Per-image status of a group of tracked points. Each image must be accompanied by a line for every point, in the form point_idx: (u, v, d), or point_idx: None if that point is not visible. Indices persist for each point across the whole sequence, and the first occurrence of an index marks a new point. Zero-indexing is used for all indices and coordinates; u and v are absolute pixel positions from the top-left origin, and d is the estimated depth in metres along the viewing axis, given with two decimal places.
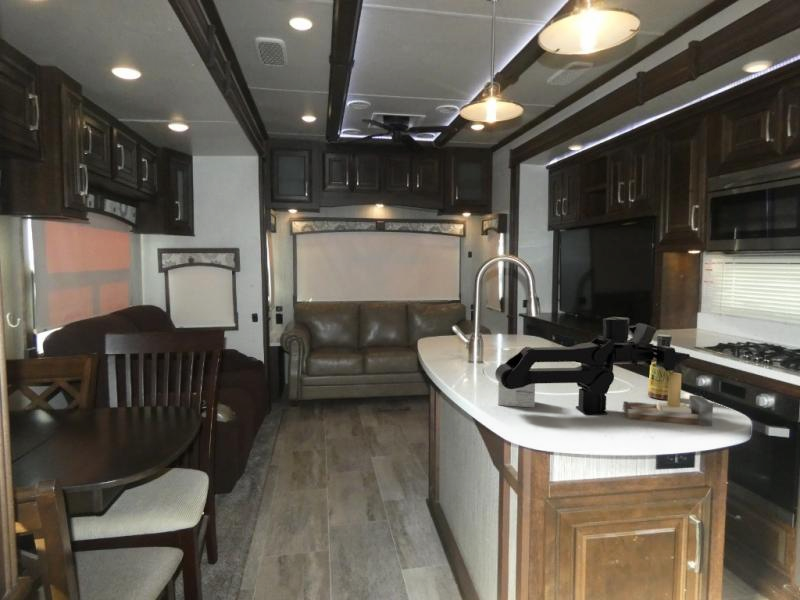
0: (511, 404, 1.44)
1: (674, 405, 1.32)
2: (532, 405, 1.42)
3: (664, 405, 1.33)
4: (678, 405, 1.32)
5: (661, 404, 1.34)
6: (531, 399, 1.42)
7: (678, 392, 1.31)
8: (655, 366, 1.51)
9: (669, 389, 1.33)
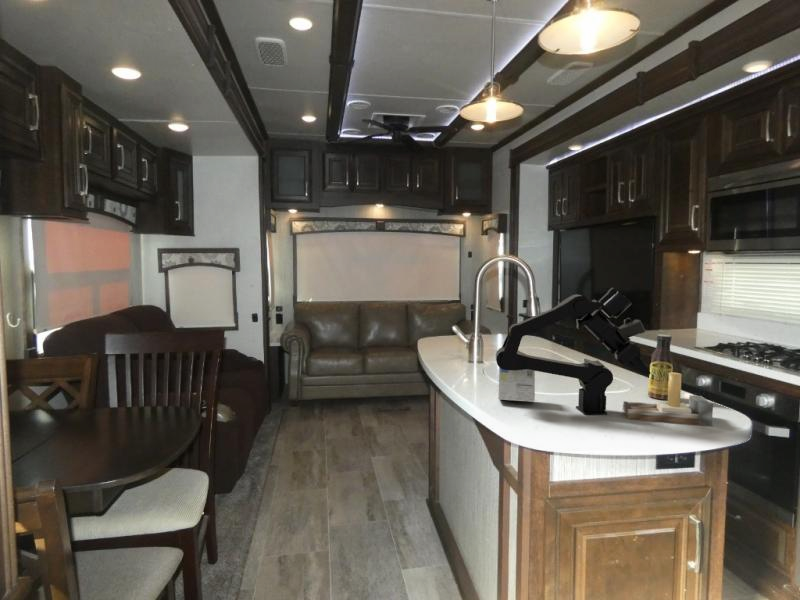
0: (511, 398, 1.44)
1: (674, 405, 1.32)
2: (532, 399, 1.43)
3: (664, 405, 1.33)
4: (678, 405, 1.32)
5: (661, 404, 1.34)
6: (531, 392, 1.43)
7: (678, 392, 1.31)
8: (655, 366, 1.51)
9: (669, 389, 1.33)
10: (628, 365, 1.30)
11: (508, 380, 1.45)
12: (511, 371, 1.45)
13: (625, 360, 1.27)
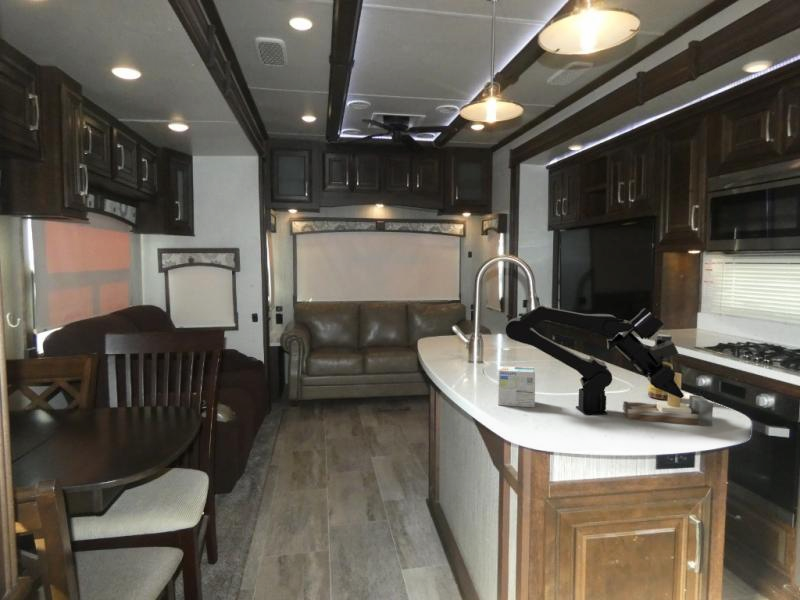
0: (511, 404, 1.44)
1: (674, 405, 1.32)
2: (532, 405, 1.42)
3: (664, 405, 1.33)
4: (678, 405, 1.32)
5: (661, 404, 1.34)
6: (531, 399, 1.42)
7: None
8: None
9: None
10: (661, 388, 1.28)
11: (508, 387, 1.43)
12: (511, 378, 1.43)
13: (659, 383, 1.25)
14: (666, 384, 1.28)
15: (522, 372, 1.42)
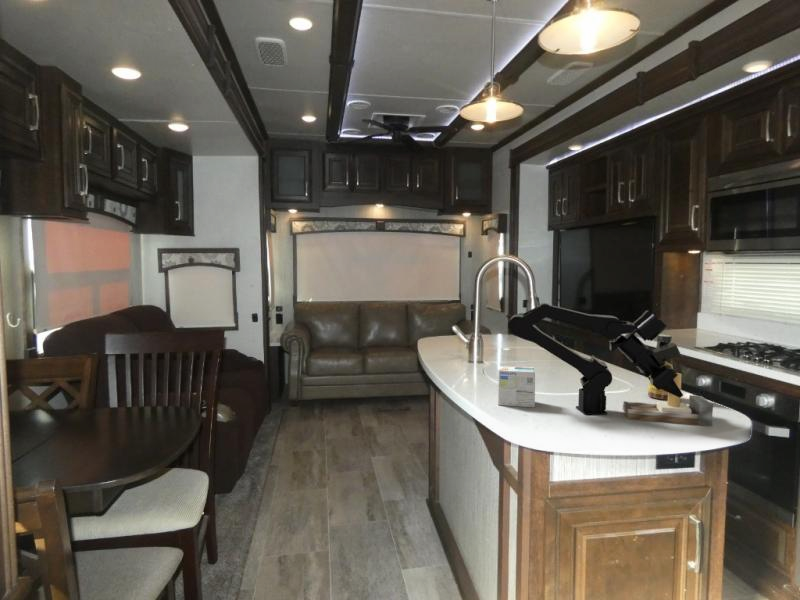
0: (511, 404, 1.44)
1: (674, 405, 1.32)
2: (532, 405, 1.42)
3: (664, 405, 1.33)
4: (678, 405, 1.32)
5: (661, 404, 1.34)
6: (531, 399, 1.42)
7: None
8: None
9: None
10: None
11: (508, 387, 1.43)
12: (511, 378, 1.43)
13: (661, 385, 1.25)
14: (666, 383, 1.31)
15: (522, 372, 1.42)
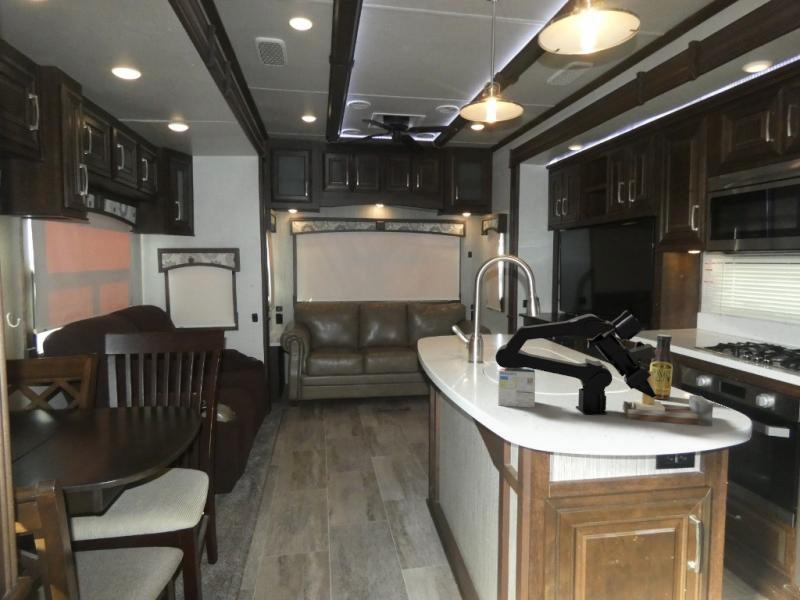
0: (511, 404, 1.44)
1: (648, 403, 1.34)
2: (532, 405, 1.42)
3: (639, 403, 1.35)
4: (652, 403, 1.34)
5: (636, 402, 1.36)
6: (531, 399, 1.42)
7: None
8: (655, 366, 1.51)
9: None
10: (634, 387, 1.32)
11: (508, 387, 1.43)
12: (511, 378, 1.43)
13: (634, 384, 1.27)
14: (639, 383, 1.32)
15: (522, 372, 1.42)
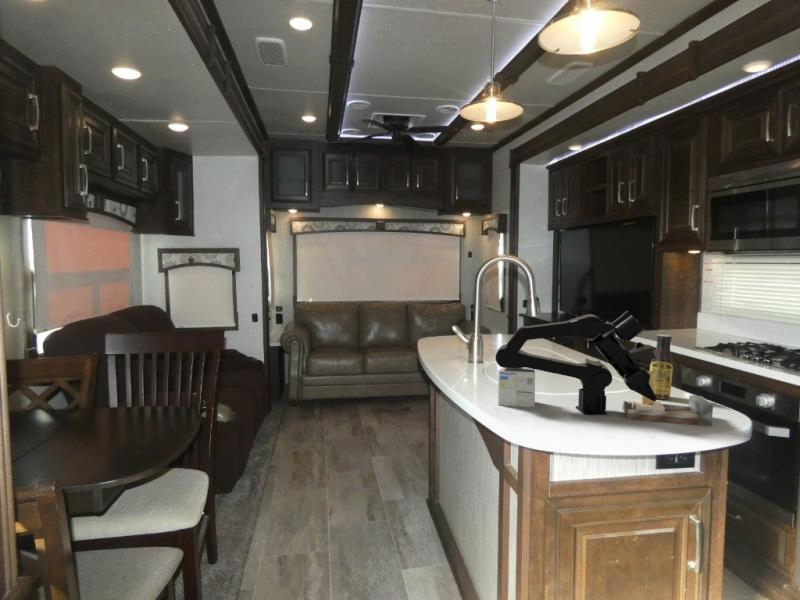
0: (511, 404, 1.44)
1: (648, 403, 1.34)
2: (532, 405, 1.42)
3: (638, 403, 1.35)
4: (652, 403, 1.34)
5: (636, 402, 1.36)
6: (531, 399, 1.42)
7: None
8: (655, 366, 1.51)
9: None
10: (636, 390, 1.30)
11: (508, 387, 1.43)
12: (511, 378, 1.43)
13: (634, 385, 1.27)
14: (641, 386, 1.30)
15: (522, 372, 1.42)
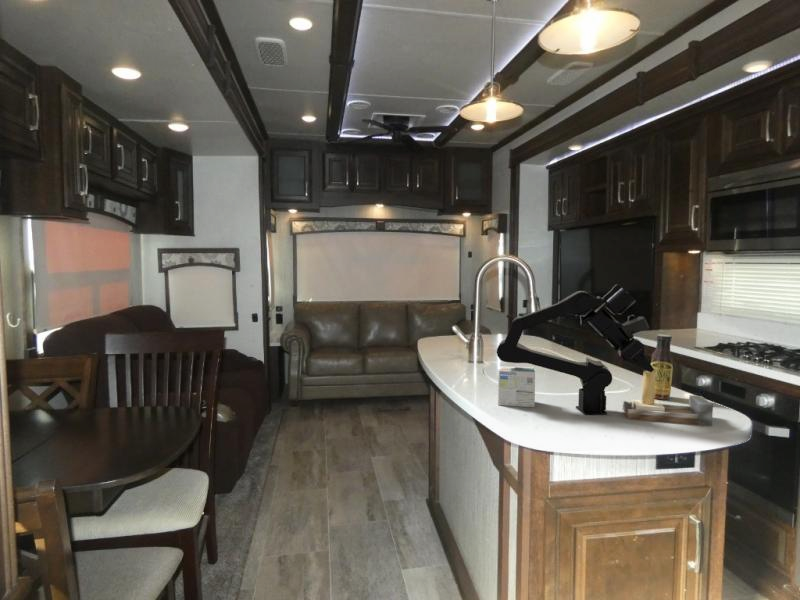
0: (511, 404, 1.44)
1: (648, 403, 1.34)
2: (532, 405, 1.42)
3: (638, 403, 1.35)
4: (652, 403, 1.34)
5: (636, 402, 1.36)
6: (531, 399, 1.42)
7: (652, 391, 1.33)
8: (655, 366, 1.51)
9: (643, 387, 1.34)
10: (631, 362, 1.29)
11: (507, 387, 1.43)
12: (511, 378, 1.43)
13: (628, 357, 1.27)
14: (636, 358, 1.29)
15: (522, 372, 1.42)
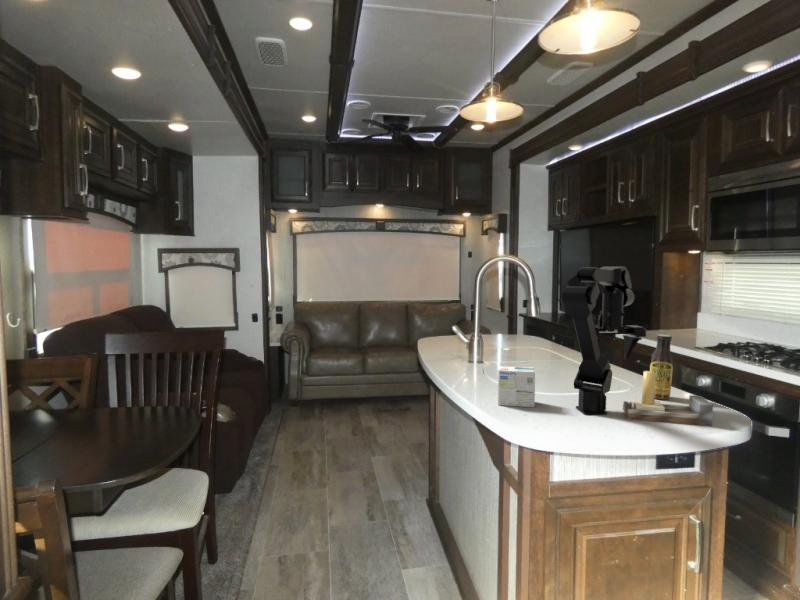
0: (511, 404, 1.44)
1: (648, 403, 1.34)
2: (532, 405, 1.42)
3: (638, 403, 1.35)
4: (652, 403, 1.34)
5: (636, 402, 1.36)
6: (531, 399, 1.42)
7: (652, 391, 1.33)
8: (655, 366, 1.51)
9: (643, 387, 1.34)
10: None
11: (507, 386, 1.43)
12: (511, 378, 1.43)
13: None
14: None
15: (522, 372, 1.42)
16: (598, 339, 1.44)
